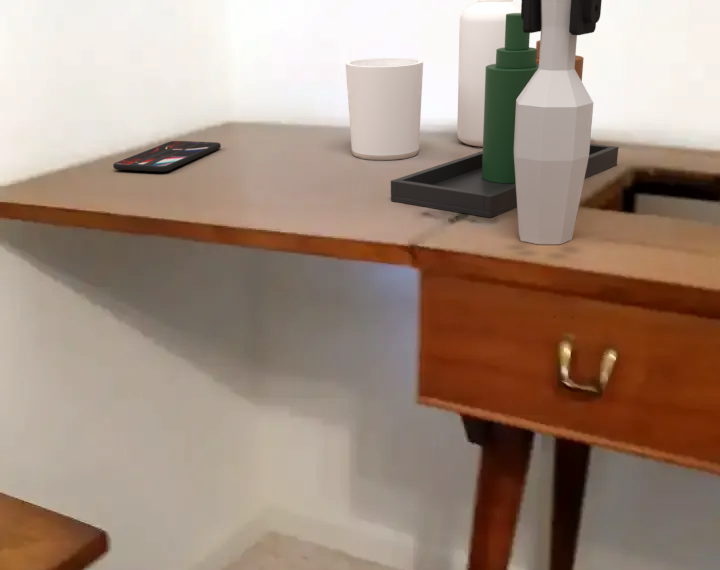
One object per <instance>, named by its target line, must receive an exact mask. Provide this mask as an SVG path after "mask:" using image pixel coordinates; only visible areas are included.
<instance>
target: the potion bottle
mask: <svg viewBox="0 0 720 570" xmlns="http://www.w3.org/2000/svg"><path fill="white" fill-rule="evenodd" d="M510 13H521V4H519V3H517V2H515V1H514V0H478V1H477V2H475V3H474V4H472V5H470V6H468V7H467V8H465V9H464V10H463V11H462V13H461V14H460V17H459V29H458V30H459V31H458V32H459V35H458V36H459V37H458V39H459V41H458V76H457V77H458V80H457V81H458V83H457V85H458V86H457V126H456V127H457V128H456V130H457V131H456V134H457V138H458V139H459V141H460V142H461V143H463V144H465V145H468V146H472V147H478V148H479V147H480V148H483V130H484V101H485V72H486V66H488V65H491V64H496V50H497V49H499V48H505V26H506V14H510Z"/></svg>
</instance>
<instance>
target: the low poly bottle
mask: <svg viewBox="0 0 720 570" xmlns="http://www.w3.org/2000/svg"><path fill="white" fill-rule="evenodd" d="M570 10H571V0H541V31H540V39H539V40H540V55H539V68H538V70H537V71H536V72H535V74H534V75H533V77H532V78H531V79H530V81H529V82H528V84H527V85H526V86H525V88H524V89H523V91H522V92H521V94H520V95H519V96H518V98H517V99H516V115H515V135H514V163H515V179H516V195H517V207H516V209H517V210H516V211H517V224H518V236H519V240H520V242H525V243H530V244H535V245H563V244H565V243H567V242H569V241H572V240H573V236H574V231H575V227H576V221H577V216H578V211H579V207H580V202H581V197H582V191H583V187H584V182H585V179H586V178H585V173H586V168H587V163H588V158H589V149H590V144H591V137H592V136H591V135H592V125H593V124H592V123H593V114H594V113H593V112H594V101H593V99H592V97H591V96H590V94H589V91H588V90H587V88H586V87H585V85H584V83H583V80H582V81H581V80H580V78H579V76H578V74H577V72H576V71H575V69H574V68H575V55H576V53H577V40H578V35H572V34H571V33H570V32H569V24H570ZM584 178H585V179H584Z"/></svg>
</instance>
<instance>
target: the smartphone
mask: <svg viewBox="0 0 720 570" xmlns="http://www.w3.org/2000/svg"><path fill="white" fill-rule="evenodd" d="M221 146H222V145H221V143H220V142H217V141H216V142H215V141H214V142H213V141H193V140H192V141H189V140H171V141H167V142H164V143H162V144H160V145H158V146H154V147H152V148H149V149H147V150H144V151H142V152H139V153H137V154H134V155H132V156H129V157H127V158H123V159H122V160H119V161H116V162H114V163H113V165H112V166H113V169H114V170H117V171H118V170H119V171H139V172H154V173H155V172H158V173H159V172H160V173H165V172H170V171H171V170H174V169H176V168H178V167H180V166H183V165H185V164H187V163H189V162H192V161H195V160H196V159H198V158H200V157H203V156H206V155H208V154H211V153H212V152H215V151H217V150H219V149H221Z"/></svg>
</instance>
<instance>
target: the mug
mask: <svg viewBox="0 0 720 570" xmlns="http://www.w3.org/2000/svg"><path fill="white" fill-rule="evenodd" d="M423 74H424V61H423V60H422V59H418V58H412V57H370V58H369V57H368V58H360V59H352V60H348V61H346V62H345V75H346V87H347V88H346V90H347V101H348V102H347V104H348V116H349V130H350V143H351V144H350V145H351V153H352V155H353V156H354V157H355V158H357V159H363V160H368V161H369V160H370V161H395V160H396V161H397V160H404V159H410V158H413V157H415V156H417V155H418V153H419V151H420V135H421V117H422V116H421V114H422V95H423V92H422V91H423Z"/></svg>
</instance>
